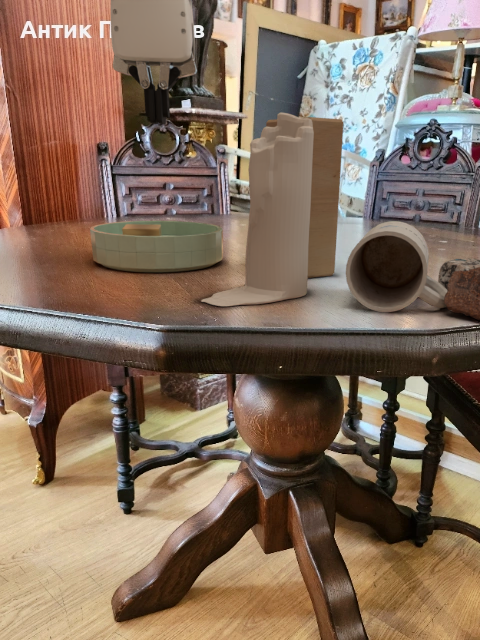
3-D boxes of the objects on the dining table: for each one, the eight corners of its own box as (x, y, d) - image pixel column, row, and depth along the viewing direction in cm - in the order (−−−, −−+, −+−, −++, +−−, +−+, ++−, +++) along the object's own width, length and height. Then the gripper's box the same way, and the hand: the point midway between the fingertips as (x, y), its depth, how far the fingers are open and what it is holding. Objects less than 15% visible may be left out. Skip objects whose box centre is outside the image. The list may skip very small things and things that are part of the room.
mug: (343, 258, 70) (329, 273, 61) (392, 205, 66) (385, 213, 57) (413, 326, 71) (409, 350, 62) (465, 277, 67) (470, 296, 58)
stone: (464, 273, 63) (452, 259, 61) (529, 270, 58) (518, 255, 56) (450, 326, 62) (437, 314, 60) (514, 328, 57) (503, 315, 55)
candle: (189, 298, 64) (182, 104, 56) (279, 283, 73) (283, 114, 65) (228, 311, 59) (225, 100, 52) (319, 293, 68) (328, 112, 60)
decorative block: (262, 265, 85) (264, 119, 77) (294, 262, 87) (299, 122, 80) (302, 279, 76) (308, 116, 68) (336, 275, 79) (345, 119, 71)
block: (125, 264, 79) (122, 228, 77) (128, 258, 83) (125, 224, 82) (161, 264, 80) (159, 228, 78) (162, 258, 84) (160, 224, 82)
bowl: (76, 272, 76) (71, 234, 74) (112, 250, 94) (109, 219, 92) (217, 275, 77) (216, 238, 75) (226, 252, 95) (226, 222, 93)
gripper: (213, -30, 72) (216, 126, 79) (96, -35, 71) (109, 123, 78) (207, -50, 65) (211, 123, 72) (77, -55, 64) (94, 120, 71)
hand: (158, 123), depth 75 cm, fingers closed
